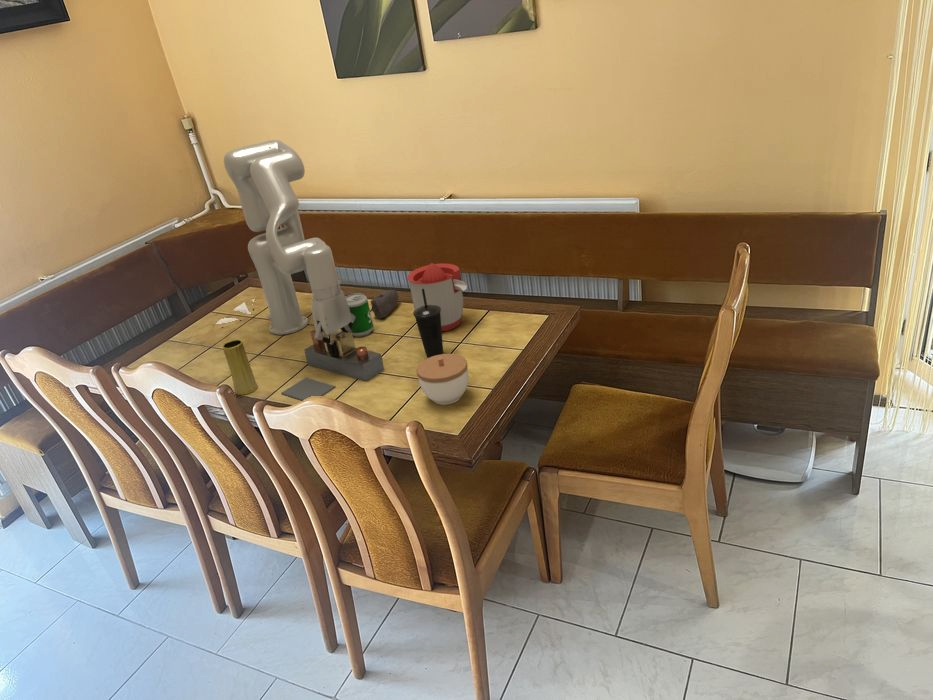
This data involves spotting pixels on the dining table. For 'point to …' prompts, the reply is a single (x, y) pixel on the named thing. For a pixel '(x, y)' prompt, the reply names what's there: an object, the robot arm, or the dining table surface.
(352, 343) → the lever cap
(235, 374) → the vase
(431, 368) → the lidded bowl
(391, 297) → the perforated stone tool
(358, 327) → the soda can
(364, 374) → the plane body
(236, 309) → the paper scraps
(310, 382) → the mat
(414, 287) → the citrus juicer
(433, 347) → the drinking cup
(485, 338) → the dining table surface
